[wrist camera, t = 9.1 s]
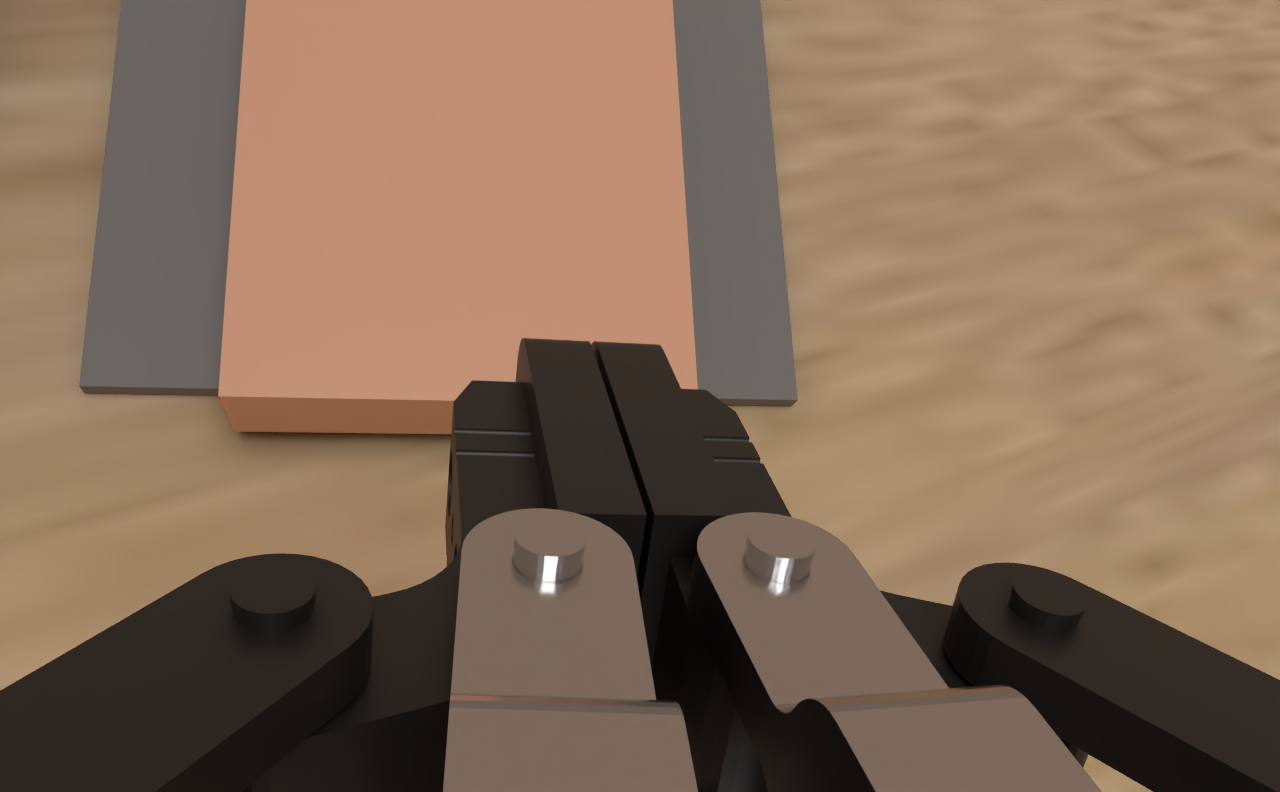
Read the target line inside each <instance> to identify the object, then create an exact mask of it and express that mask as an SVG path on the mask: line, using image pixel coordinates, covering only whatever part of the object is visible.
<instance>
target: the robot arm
mask: <svg viewBox="0 0 1280 792" xmlns="http://www.w3.org/2000/svg"><path fill="white" fill-rule="evenodd" d="M445 528H446V555H447V567H446V568H445V569H444V570H443V571H441V572H440V573H439V574H437V575H436V576H434V577H433V578H431V579H429V580H427V581H425V582H423V583H421V584H419V585H416V586H413V587H411V588H408V589H405V590H401V591H397V592H393V593H389V594H385V595H380V596H375V597H372V596H371V594H370V592H369V589H368V587H367V586H366V585H365V584H364V582H363V581H362V580H361V579H360V578H359V577H358V576H356V575H355V574H354V573H353V572H351V571H350V570H348V569H346V568H344V567H343V566H341V565H338V564H336V563H333V562H331V561H328V560H325V559H321V558H317V557H313V556H306V555H299V554H264V555H257V556H251V557H245V558H241V559H237V560H233V561H230V562H227V563H224V564H222V565H219V566H216V567H214V568H212V569H210V570H208V571H206V572H204V573H202V574H201V575H199V576H197V577H195V578H194V579H192V580H190V581H188V582H187V583H185V584H183V585H182V586H180V587H178V588H176V589H175V590H173V591H171V592H170V593H168V594H166V595H164V596H163V597H161V598H159V599H158V600H156V601H154V602H152V603H151V604H149V605H147V606H145V607H144V608H142V609H140V610H139V611H137V612H135V613H133V614H132V615H130V616H128V617H127V618H125V619H123V620H121V621H120V622H118V623H116V624H115V625H113V626H111V627H109V628H108V629H106V630H104V631H102V632H101V633H99V634H97V635H96V636H94V637H92V638H90V639H89V640H87V641H85V642H84V643H82V644H80V645H78V646H77V647H75V648H73V649H72V650H70V651H68V652H66V653H65V654H63V655H61V656H59V657H58V658H56V659H54V660H53V661H51V662H49V663H47V664H46V665H44V666H42V667H41V668H39V669H37V670H35V671H34V672H32V673H30V674H29V675H27V676H25V677H23V678H22V679H20V680H18V681H16V682H15V683H13V684H11V685H10V686H8V687H6V688H4V689H3V690H1V691H0V792H1101V790H1100V789H1099V788H1098V787H1097V785H1096V784H1095V783H1094V781H1093V780H1092V779H1091V778H1090V776H1089V775H1088V774H1087V773H1086V771H1085V770H1084V769H1083V767H1084V764H1085V762H1086V759H1087V757H1088V754H1089V755H1091V756H1093V757H1094V758H1096V759H1098V760H1100V761H1101V762H1103V763H1105V764H1106V765H1108V766H1110V767H1112V768H1113V769H1115V770H1117V771H1119V772H1120V773H1122V774H1124V775H1126V776H1127V777H1129V778H1131V779H1132V780H1134V781H1136V782H1138V783H1139V784H1141V785H1143V786H1145V787H1146V788H1148V789H1150V790H1152V791H1153V792H1280V680H1278V679H1276V678H1274V677H1272V676H1270V675H1268V674H1266V673H1264V672H1262V671H1260V670H1258V669H1256V668H1254V667H1252V666H1250V665H1248V664H1245V663H1243V662H1241V661H1239V660H1237V659H1235V658H1233V657H1231V656H1229V655H1227V654H1225V653H1223V652H1221V651H1219V650H1217V649H1215V648H1213V647H1211V646H1209V645H1207V644H1205V643H1203V642H1201V641H1199V640H1197V639H1194V638H1192V637H1190V636H1188V635H1186V634H1184V633H1182V632H1180V631H1178V630H1176V629H1174V628H1172V627H1170V626H1168V625H1166V624H1164V623H1162V622H1160V621H1158V620H1156V619H1154V618H1152V617H1150V616H1148V615H1146V614H1144V613H1141V612H1139V611H1137V610H1135V609H1133V608H1131V607H1129V606H1127V605H1125V604H1123V603H1121V602H1119V601H1117V600H1115V599H1113V598H1111V597H1109V596H1107V595H1105V594H1103V593H1101V592H1099V591H1097V590H1095V589H1093V588H1091V587H1088V586H1086V585H1084V584H1082V583H1080V582H1078V581H1076V580H1074V579H1072V578H1069V577H1067V576H1065V575H1062V574H1059V573H1057V572H1054V571H1051V570H1048V569H1044V568H1040V567H1036V566H1031V565H1025V564H1018V563H993V564H986V565H982V566H979V567H976V568H974V569H972V570H971V571H969V572H968V573H967V574H966V575H965V576H964V577H963V578H962V580H961V582H960V584H959V587H958V590H957V594H956V597H955V600H954V604H953V606H949V605H944V604H939V603H934V602H930V601H925V600H920V599H915V598H910V597H906V596H901V595H896V594H892V593H888V592H884V591H880V590H879V589H878V588H877V586H876V585H875V583H874V582H873V581H872V579H871V578H870V576H869V575H868V573H867V572H866V571H865V569H864V568H863V566H862V565H861V564H860V562H859V561H858V559H857V558H856V557H855V555H854V554H853V553H852V551H851V550H850V549H849V548H848V547H847V546H846V545H845V544H844V543H843V542H842V541H840V540H839V539H838V538H837V537H835V536H834V535H832V534H831V533H829V532H827V531H825V530H823V529H822V528H820V527H818V526H815V525H813V524H811V523H808V522H806V521H803V520H799V519H796V518H793V517H791V515H790V513H789V511H788V510H787V508H786V506H785V504H784V502H783V500H782V498H781V496H780V494H779V493H778V491H777V489H776V487H775V485H774V483H773V481H772V479H771V478H770V476H769V474H768V472H767V470H766V468H765V466H764V464H760V457H759V455H758V453H757V451H756V449H755V447H754V445H753V444H752V443H751V442H749V436H748V434H747V432H746V430H745V429H744V427H743V425H742V423H741V421H740V419H739V417H738V415H737V413H736V412H735V411H733V410H732V409H731V408H729V407H728V406H727V405H726V404H724V403H723V402H722V401H720V400H719V399H718V398H716V397H715V396H714V395H712V394H711V393H710V392H708V391H707V390H700V389H681V387H680V385H679V383H678V381H677V379H676V376H675V374H674V372H673V370H672V368H671V366H670V363H669V361H668V359H667V357H666V355H665V352H664V350H663V348H662V347H661V345H659V344H639V343H618V342H598V341H594V342H593V343H592V345H591V343H590V342H589V341H574V340H554V339H534V338H522V339H521V342H520V346H519V352H518V360H517V370H516V381H515V382H503V381H479V380H472V381H471V382H470V383H469V385H468V386H467V387H466V388H465V389H464V390H463V391H462V393H461V394H460V395H459V396H458V397H457V398H456V400H455V401H454V402H453V415H452V431H451V446H450V462H449V477H448V493H447V508H446V524H445Z"/></svg>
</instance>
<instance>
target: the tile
mask: <svg viewBox="0 0 1280 792" xmlns="http://www.w3.org/2000/svg"><path fill="white" fill-rule="evenodd" d="M522 338H534V339H554V340H574V341H589V342H590V343H591V345H592V343H593V342H594V341H598V342H618V343H639V344H659V345H661V347H662V348H663V350H664V352H665V355H666V357H667V359H668V361H669V363H670V366H671V368H672V370H673V372H674V374H675V376H676V379H677V381H678V383H679V385H680V387H681V389H698V385H697V369H696V354H695V338H694V323H693V308H692V292H691V277H690V261H689V246H688V230H687V215H686V200H685V184H684V169H683V153H682V138H681V122H680V107H679V92H678V76H677V61H676V45H675V30H674V14H673V0H246V12H245V26H244V40H243V54H242V68H241V82H240V96H239V110H238V124H237V138H236V153H235V167H234V181H233V195H232V209H231V223H230V237H229V251H228V265H227V279H226V293H225V307H224V321H223V335H222V349H221V363H220V377H219V391H218V397H219V399H220V402H221V404H222V406H223V408H224V410H225V413H226V415H227V417H228V419H229V422H230V424H231V426H232V428H233V431H243V432H321V433H399V434H451V431H452V415H453V402H454V401H455V400H456V398H457V397H458V396H459V395H460V394H461V393H462V391H463V390H464V389H465V388H466V387H467V386H468V385H469V383H470V382H471V381H472V380H479V381H503V382H515V381H516V370H517V360H518V352H519V346H520V342H521V339H522Z"/></svg>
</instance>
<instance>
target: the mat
mask: <svg viewBox="0 0 1280 792" xmlns="http://www.w3.org/2000/svg"><path fill="white" fill-rule="evenodd" d="M245 12H246V0H122V3H121V12H120V21H119V30H118V39H117V49H116V58H115V67H114V76H113V85H112V94H111V103H110V112H109V121H108V130H107V139H106V148H105V158H104V167H103V176H102V185H101V194H100V203H99V212H98V221H97V230H96V239H95V248H94V257H93V267H92V276H91V285H90V294H89V303H88V312H87V321H86V330H85V339H84V348H83V357H82V366H81V376H80V385H79V386H80V388H81V389H82V390H83V391H84V393H102V394H157V395H211V396H218V391H219V377H220V363H221V349H222V335H223V321H224V307H225V293H226V279H227V265H228V251H229V237H230V223H231V209H232V195H233V181H234V167H235V153H236V138H237V124H238V110H239V96H240V82H241V68H242V54H243V40H244V26H245ZM673 14H674V30H675V45H676V61H677V76H678V92H679V107H680V122H681V138H682V153H683V169H684V184H685V200H686V215H687V230H688V246H689V261H690V277H691V292H692V308H693V323H694V338H695V354H696V369H697V385H698V389H700V390H707V391H708V392H710V393H711V394H712V395H714V396H715V397H716V398H718V399H719V400H720V401H722V402H723V403H724V404H726V405H757V406H792V405H793V404H794V403H795V402H796V401H797V390H796V379H795V368H794V358H793V347H792V336H791V326H790V315H789V304H788V293H787V283H786V272H785V261H784V251H783V240H782V229H781V218H780V208H779V197H778V186H777V176H776V165H775V154H774V144H773V133H772V122H771V111H770V101H769V90H768V79H767V69H766V58H765V47H764V37H763V26H762V15H761V4H760V0H673Z"/></svg>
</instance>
